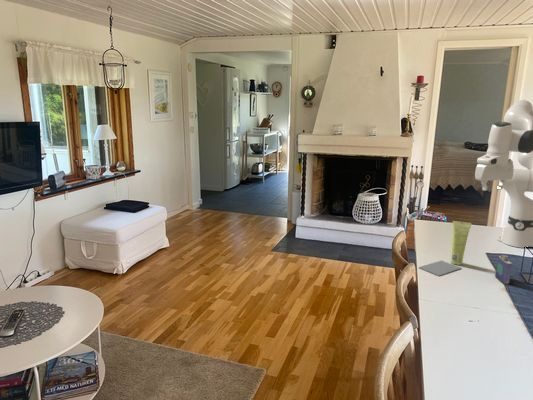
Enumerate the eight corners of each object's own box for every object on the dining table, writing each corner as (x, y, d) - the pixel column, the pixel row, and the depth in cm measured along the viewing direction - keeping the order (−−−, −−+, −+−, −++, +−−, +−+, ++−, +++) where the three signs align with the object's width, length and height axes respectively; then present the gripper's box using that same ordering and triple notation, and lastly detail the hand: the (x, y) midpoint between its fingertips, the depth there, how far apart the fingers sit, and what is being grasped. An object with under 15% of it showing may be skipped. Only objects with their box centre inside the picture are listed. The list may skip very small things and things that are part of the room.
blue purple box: (510, 284, 161) (514, 259, 158) (502, 284, 161) (506, 259, 159) (500, 275, 170) (504, 251, 167) (493, 274, 170) (496, 251, 168)
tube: (457, 260, 186) (462, 219, 181) (465, 264, 181) (471, 222, 177) (447, 261, 184) (452, 220, 179) (456, 265, 179) (461, 224, 175)
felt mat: (441, 261, 184) (441, 260, 184) (461, 268, 176) (461, 267, 176) (418, 268, 176) (418, 267, 176) (438, 276, 168) (438, 275, 168)
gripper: (506, 158, 185) (502, 187, 188) (474, 158, 178) (470, 189, 181) (519, 159, 180) (514, 189, 183) (486, 160, 172) (482, 192, 175)
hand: (492, 189), depth 181 cm, fingers open, 8 cm apart
